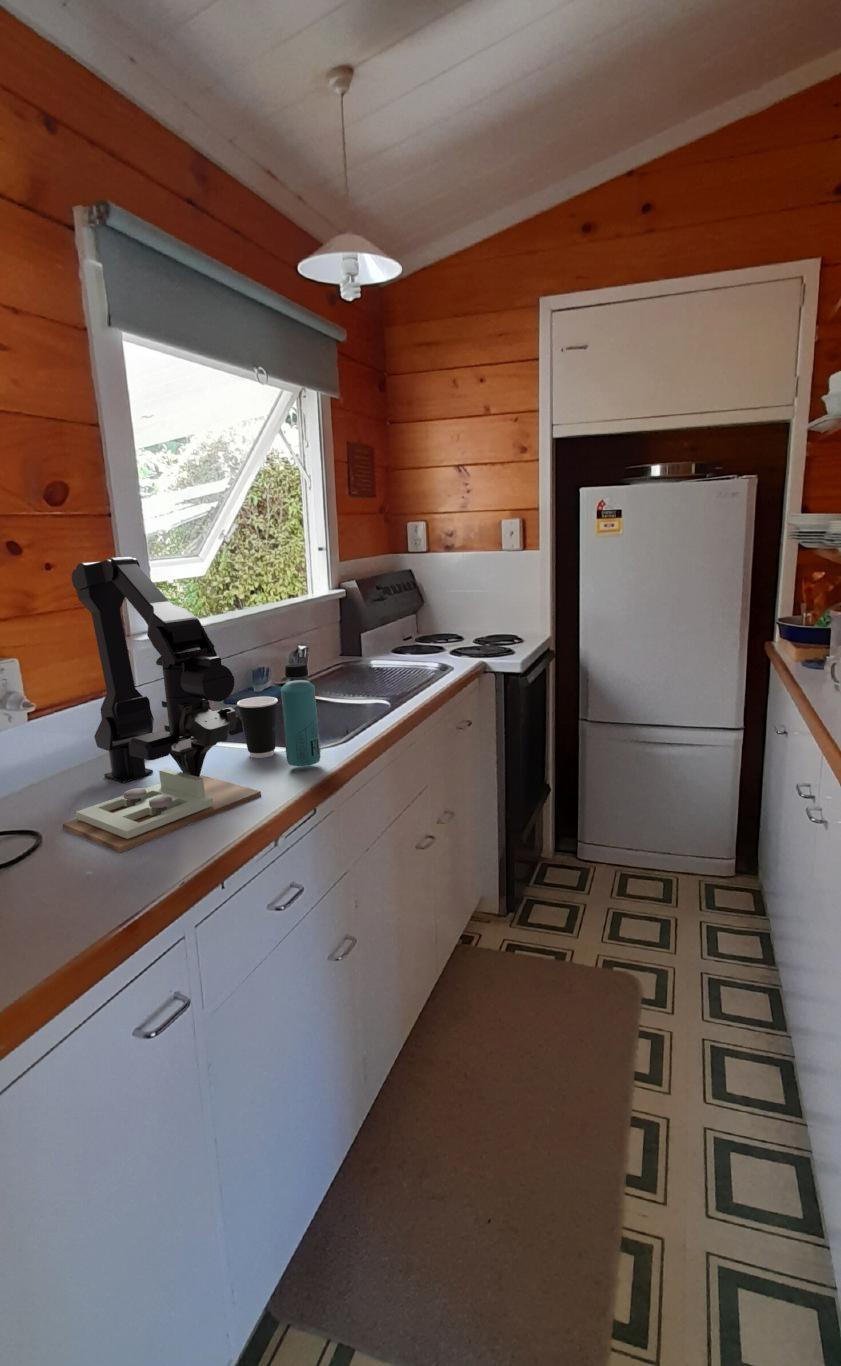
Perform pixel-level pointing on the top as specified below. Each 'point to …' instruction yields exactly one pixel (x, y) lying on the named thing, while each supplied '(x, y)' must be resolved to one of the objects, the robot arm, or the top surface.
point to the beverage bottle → (300, 718)
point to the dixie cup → (259, 725)
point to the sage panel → (172, 784)
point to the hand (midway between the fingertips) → (194, 784)
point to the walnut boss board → (211, 790)
